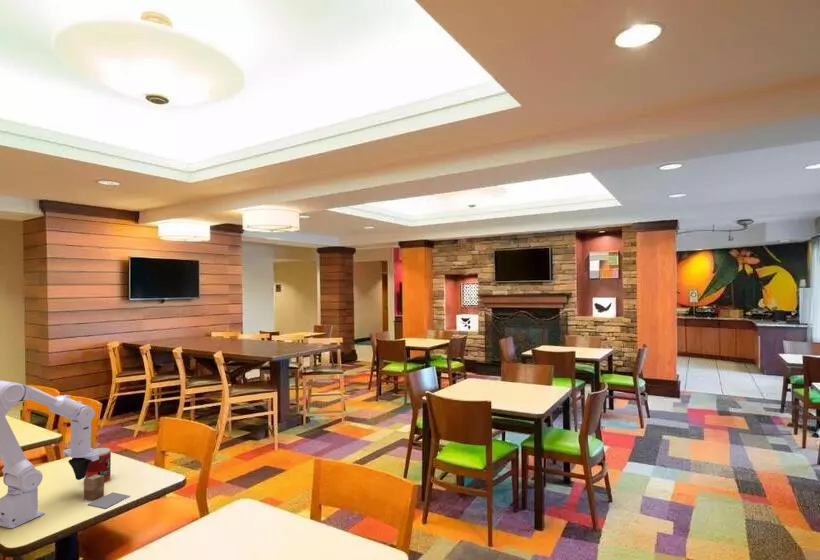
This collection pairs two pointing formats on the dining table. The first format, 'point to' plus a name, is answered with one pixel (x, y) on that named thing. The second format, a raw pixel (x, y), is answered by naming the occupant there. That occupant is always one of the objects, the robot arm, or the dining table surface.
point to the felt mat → (108, 500)
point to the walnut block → (93, 487)
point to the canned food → (100, 464)
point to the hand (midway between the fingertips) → (80, 478)
